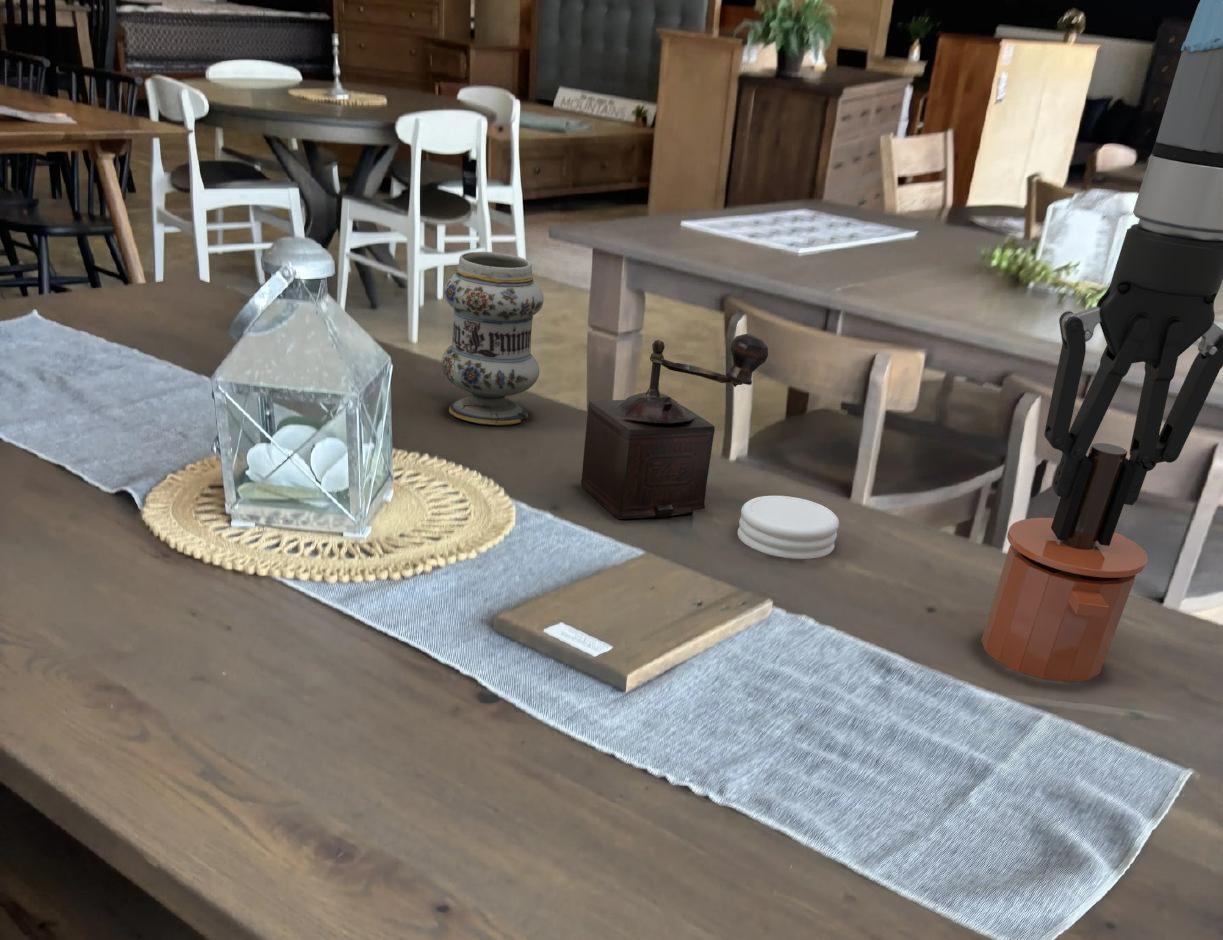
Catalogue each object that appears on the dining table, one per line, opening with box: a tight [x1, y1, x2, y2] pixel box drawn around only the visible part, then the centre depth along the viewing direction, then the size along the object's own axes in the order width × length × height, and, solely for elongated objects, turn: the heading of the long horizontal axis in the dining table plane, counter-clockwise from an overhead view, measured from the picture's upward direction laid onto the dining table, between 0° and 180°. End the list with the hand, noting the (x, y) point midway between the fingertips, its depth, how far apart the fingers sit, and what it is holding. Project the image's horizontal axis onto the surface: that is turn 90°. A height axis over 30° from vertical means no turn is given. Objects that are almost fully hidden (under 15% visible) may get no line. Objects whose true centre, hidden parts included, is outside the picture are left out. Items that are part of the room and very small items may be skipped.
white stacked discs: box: [737, 495, 840, 560], centre depth 122 cm, size 10×10×4 cm
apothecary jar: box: [440, 251, 545, 426], centre depth 145 cm, size 12×12×18 cm
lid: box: [1006, 442, 1149, 578], centre depth 98 cm, size 11×11×9 cm
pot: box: [980, 544, 1137, 683], centre depth 104 cm, size 10×16×10 cm, turn 175°
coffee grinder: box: [580, 333, 769, 520], centre depth 126 cm, size 16×11×18 cm
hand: (1079, 536), depth 100 cm, fingers closed on lid, 3 cm apart
